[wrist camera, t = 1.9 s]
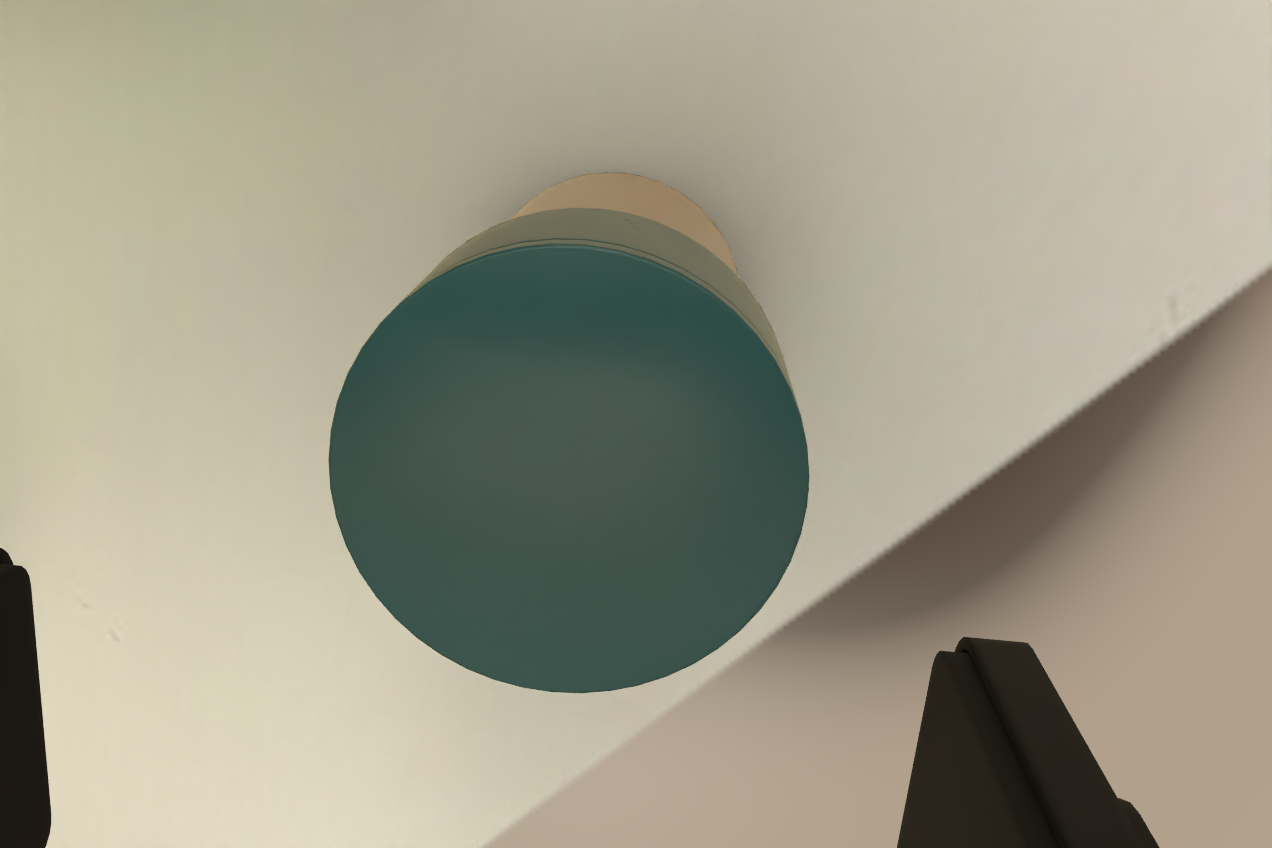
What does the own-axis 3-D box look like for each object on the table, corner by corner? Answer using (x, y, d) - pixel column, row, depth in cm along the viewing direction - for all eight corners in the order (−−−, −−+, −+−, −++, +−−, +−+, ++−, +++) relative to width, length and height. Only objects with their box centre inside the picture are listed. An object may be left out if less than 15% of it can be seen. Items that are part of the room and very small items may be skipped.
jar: (755, 184, 27) (802, 289, 16) (725, 435, 29) (750, 670, 18) (490, 160, 27) (369, 247, 16) (478, 411, 29) (363, 633, 18)
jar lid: (820, 228, 19) (848, 270, 16) (767, 613, 21) (782, 716, 18) (386, 187, 19) (328, 220, 16) (378, 575, 21) (326, 671, 18)
